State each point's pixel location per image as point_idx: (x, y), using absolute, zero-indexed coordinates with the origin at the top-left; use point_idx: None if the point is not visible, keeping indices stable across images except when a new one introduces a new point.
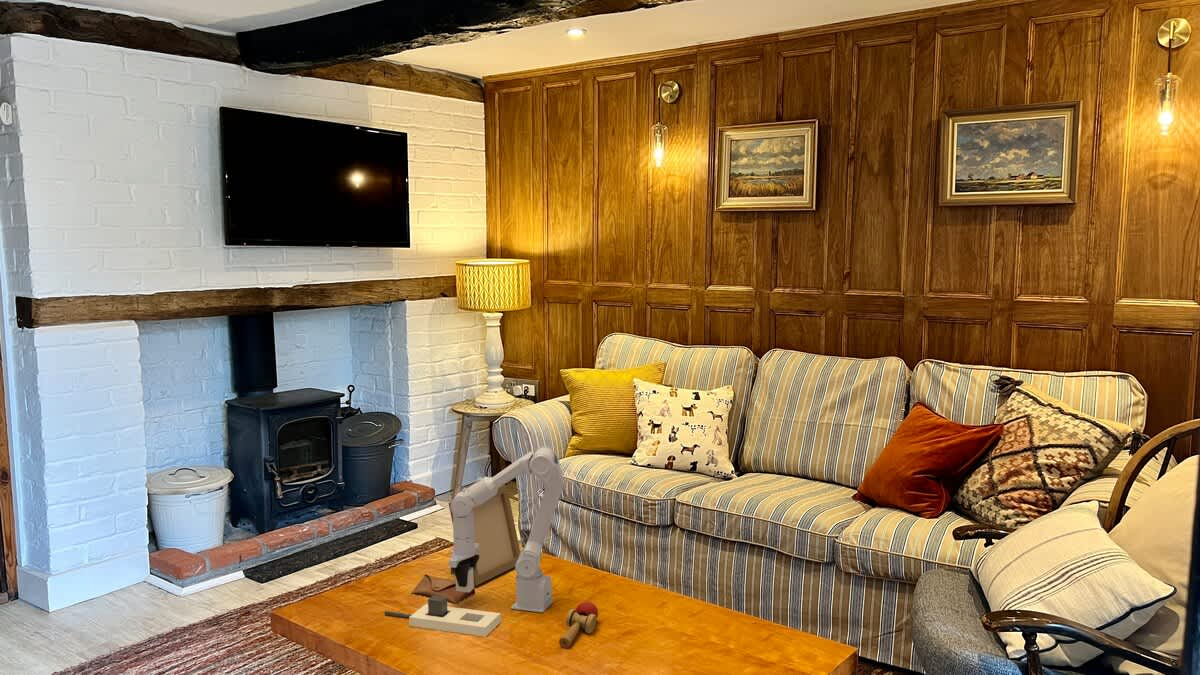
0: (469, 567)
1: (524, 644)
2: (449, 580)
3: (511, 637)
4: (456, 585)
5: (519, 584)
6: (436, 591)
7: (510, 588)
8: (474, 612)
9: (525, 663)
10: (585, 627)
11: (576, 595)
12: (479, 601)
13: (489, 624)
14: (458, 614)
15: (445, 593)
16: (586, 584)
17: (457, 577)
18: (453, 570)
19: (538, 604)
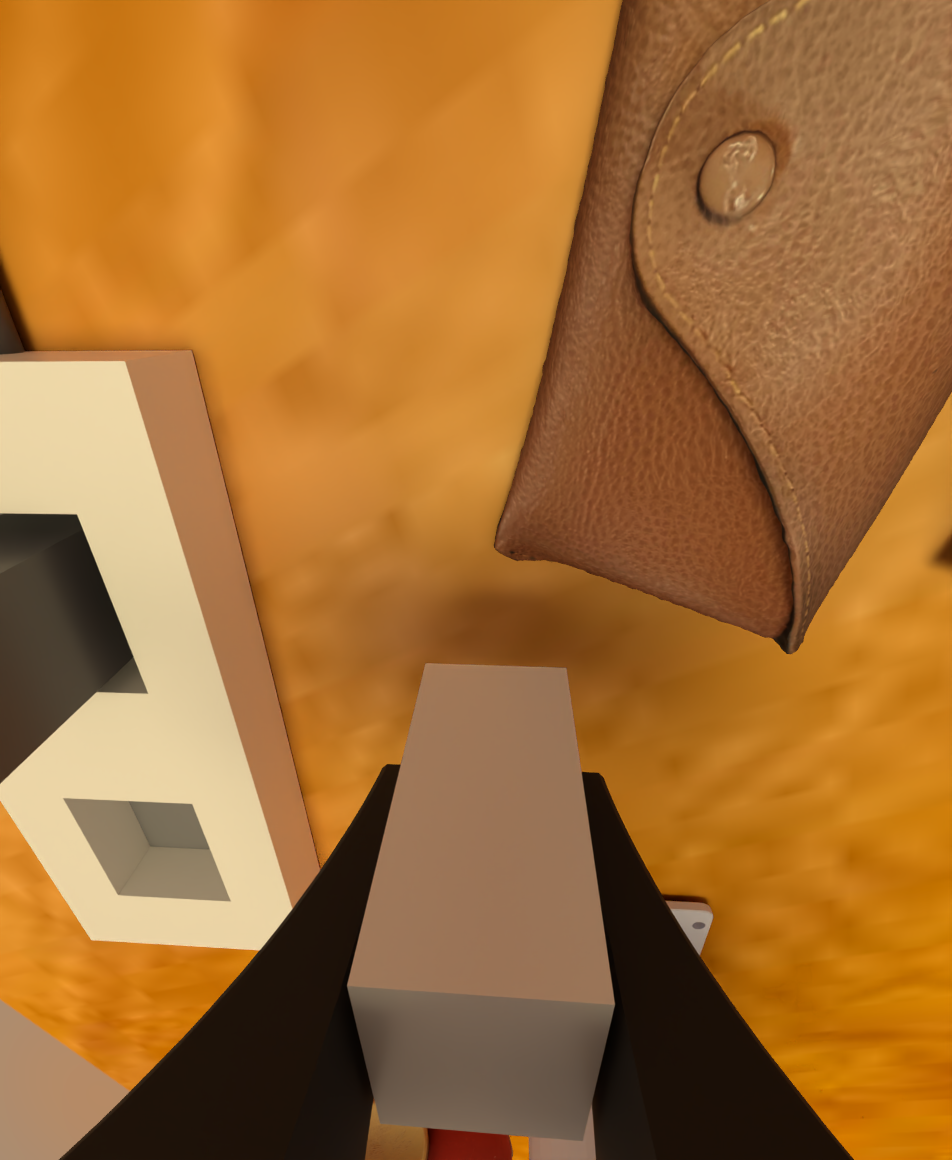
0: (565, 1113)
1: (178, 999)
2: (937, 313)
3: (203, 956)
4: (413, 723)
5: (539, 1149)
6: (632, 211)
7: (912, 802)
8: (229, 842)
9: (50, 1024)
10: None
11: (779, 1056)
12: (607, 694)
13: (149, 937)
14: (130, 766)
15: (593, 389)
16: (946, 1068)
17: (329, 890)
18: (175, 1052)
19: None
